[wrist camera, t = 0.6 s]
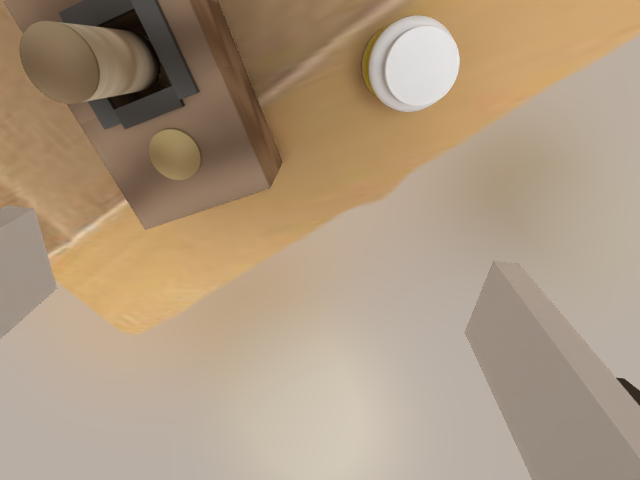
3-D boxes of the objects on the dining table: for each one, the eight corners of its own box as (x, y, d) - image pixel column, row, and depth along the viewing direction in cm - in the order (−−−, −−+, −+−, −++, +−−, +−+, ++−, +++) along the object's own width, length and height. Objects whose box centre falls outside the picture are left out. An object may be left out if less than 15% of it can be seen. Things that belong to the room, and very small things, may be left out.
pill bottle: (375, 112, 35) (391, 135, 25) (350, 45, 32) (356, 41, 22) (439, 82, 33) (483, 93, 23) (417, 10, 31) (457, -11, 21)
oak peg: (93, 42, 26) (3, 38, 19) (141, 21, 25) (65, 7, 18) (124, 98, 28) (52, 114, 21) (170, 79, 27) (111, 89, 20)
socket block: (77, 13, 32) (-5, 0, 24) (199, -45, 30) (151, -80, 22) (179, 198, 39) (142, 232, 32) (282, 162, 37) (268, 190, 29)
